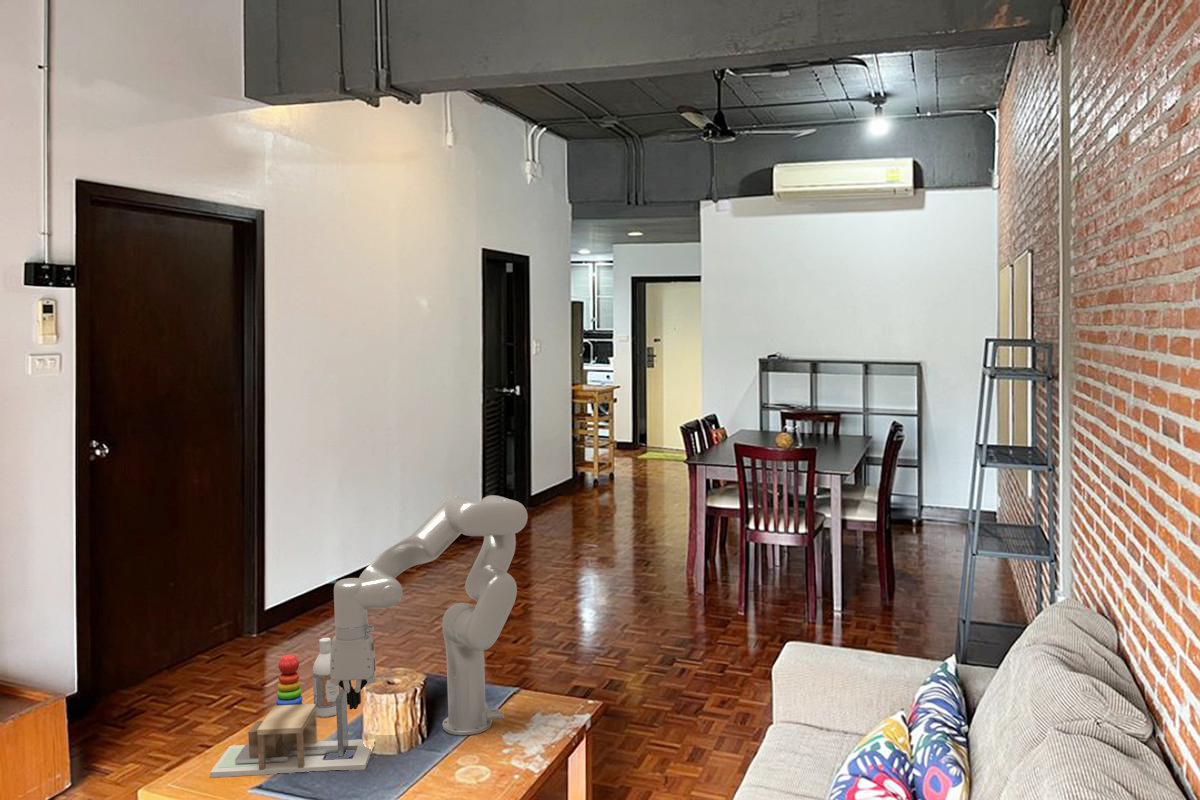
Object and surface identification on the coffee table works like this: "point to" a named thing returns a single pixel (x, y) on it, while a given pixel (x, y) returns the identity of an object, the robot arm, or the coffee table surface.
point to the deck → (293, 761)
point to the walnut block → (271, 742)
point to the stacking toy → (289, 682)
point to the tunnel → (289, 728)
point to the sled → (291, 748)
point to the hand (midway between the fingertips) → (354, 707)
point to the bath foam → (324, 682)
